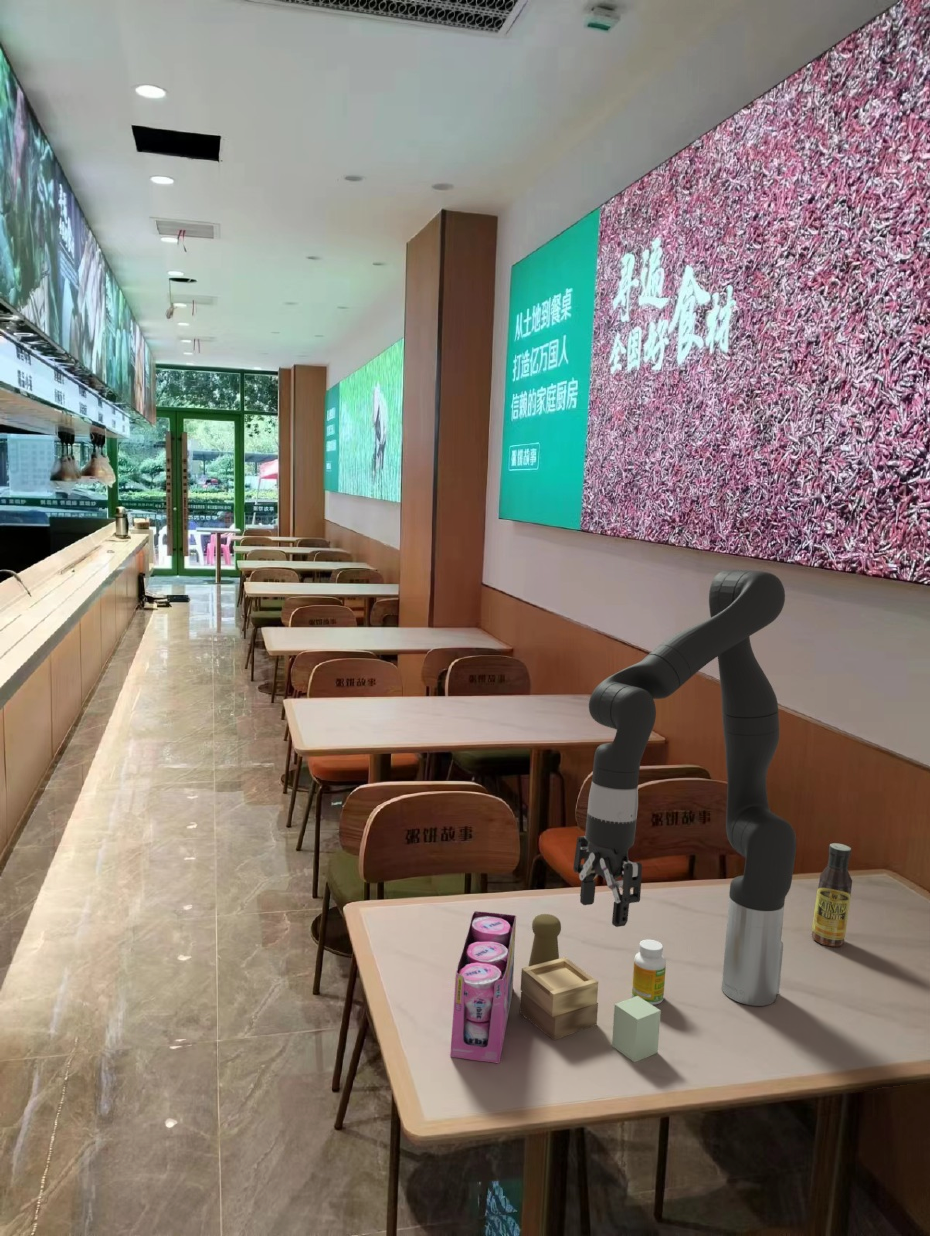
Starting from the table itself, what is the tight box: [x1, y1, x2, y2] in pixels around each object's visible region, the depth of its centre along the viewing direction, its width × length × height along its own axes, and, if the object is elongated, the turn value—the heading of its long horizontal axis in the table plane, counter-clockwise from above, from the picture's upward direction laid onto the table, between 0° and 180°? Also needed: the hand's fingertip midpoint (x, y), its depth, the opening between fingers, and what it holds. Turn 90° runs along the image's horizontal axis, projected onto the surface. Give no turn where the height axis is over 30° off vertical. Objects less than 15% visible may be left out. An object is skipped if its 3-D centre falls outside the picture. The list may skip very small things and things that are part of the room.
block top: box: [520, 956, 599, 1017], centre depth 150 cm, size 9×9×4 cm
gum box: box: [449, 910, 517, 1064], centre depth 148 cm, size 24×8×14 cm, turn 172°
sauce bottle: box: [811, 842, 853, 948], centre depth 182 cm, size 7×6×20 cm
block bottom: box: [519, 991, 599, 1041], centre depth 150 cm, size 9×9×4 cm
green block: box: [611, 996, 662, 1063], centre depth 143 cm, size 5×5×7 cm
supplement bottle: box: [631, 939, 667, 1006], centre depth 158 cm, size 5×5×10 cm
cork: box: [527, 913, 562, 967], centre depth 164 cm, size 6×6×11 cm
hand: (602, 914), depth 141 cm, fingers open, 8 cm apart
